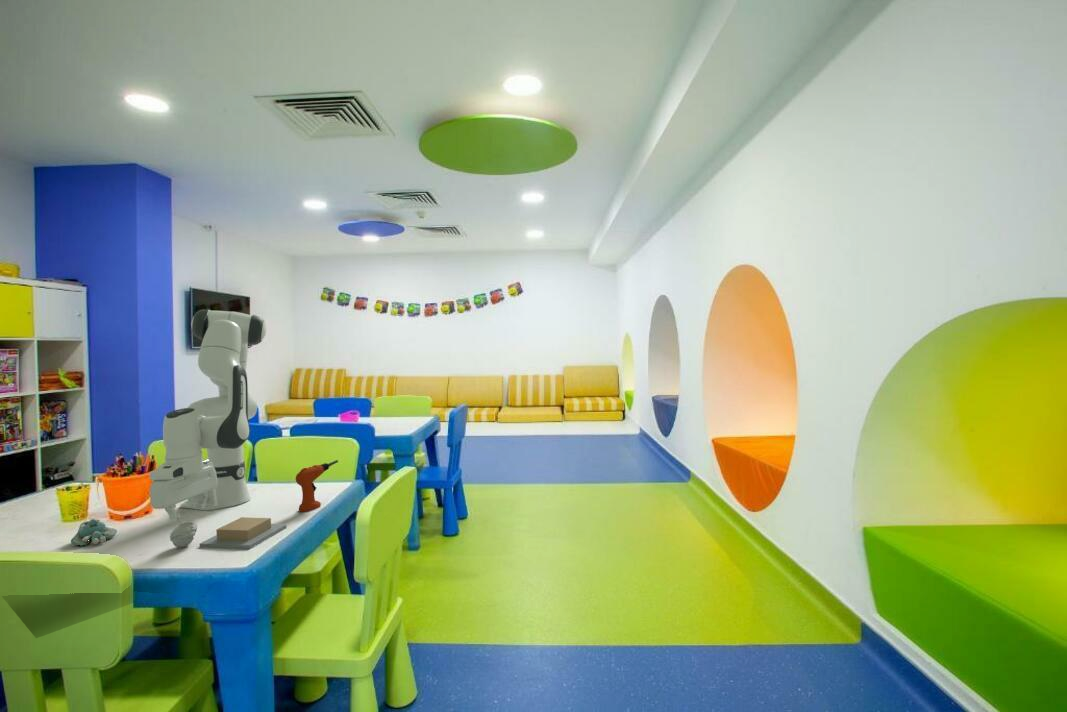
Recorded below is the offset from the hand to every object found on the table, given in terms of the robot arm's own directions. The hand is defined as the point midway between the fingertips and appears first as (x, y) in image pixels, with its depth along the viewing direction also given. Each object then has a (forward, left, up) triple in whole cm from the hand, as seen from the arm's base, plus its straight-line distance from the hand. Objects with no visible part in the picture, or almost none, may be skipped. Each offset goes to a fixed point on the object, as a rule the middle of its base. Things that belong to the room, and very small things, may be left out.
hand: (188, 514), depth 145 cm
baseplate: (+11, +8, -9) cm, 17 cm away
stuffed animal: (-34, +1, -10) cm, 35 cm away
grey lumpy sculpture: (-2, 0, -10) cm, 10 cm away
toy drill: (+17, +38, -10) cm, 42 cm away
